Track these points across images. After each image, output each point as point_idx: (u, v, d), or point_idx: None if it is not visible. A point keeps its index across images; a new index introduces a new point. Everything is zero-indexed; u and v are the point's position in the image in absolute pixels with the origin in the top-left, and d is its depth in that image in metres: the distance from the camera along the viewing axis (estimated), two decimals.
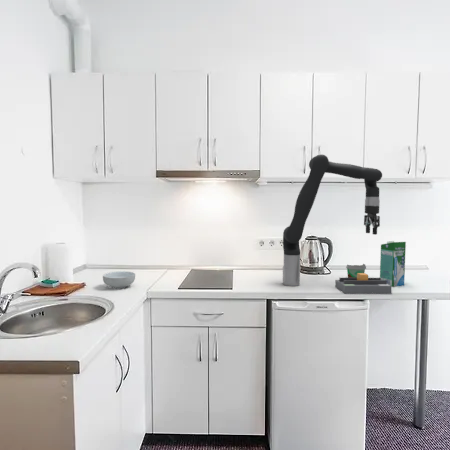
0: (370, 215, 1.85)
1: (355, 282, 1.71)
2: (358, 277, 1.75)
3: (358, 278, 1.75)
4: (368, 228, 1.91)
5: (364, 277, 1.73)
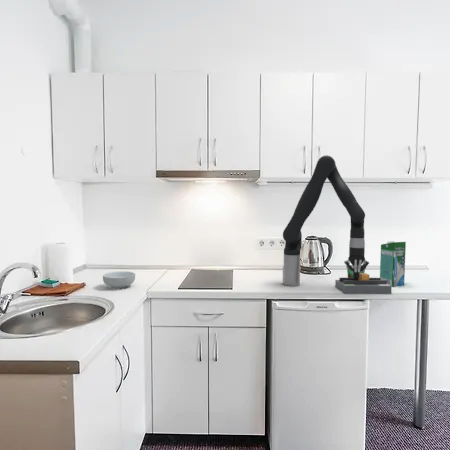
0: (359, 257, 1.73)
1: (355, 282, 1.71)
2: (359, 277, 1.75)
3: (359, 278, 1.75)
4: None
5: (365, 277, 1.73)
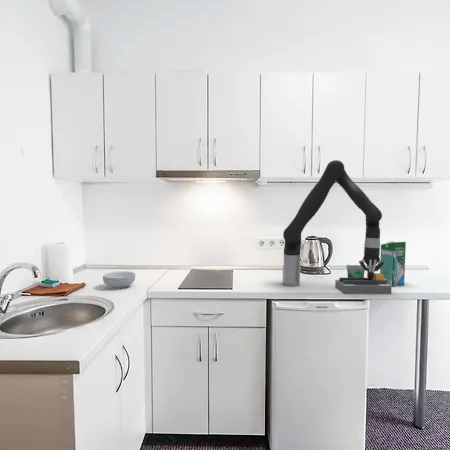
0: (373, 257, 1.73)
1: (355, 282, 1.71)
2: None
3: (373, 278, 1.75)
4: None
5: (379, 277, 1.73)
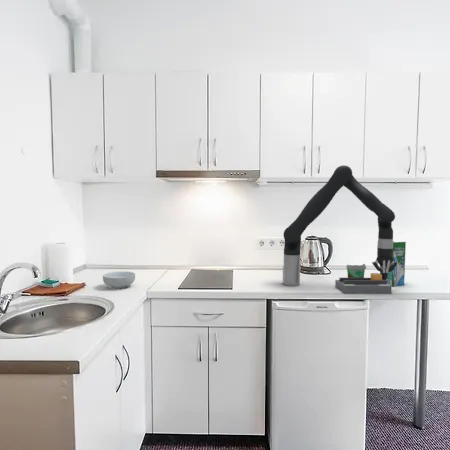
0: (387, 258, 1.73)
1: (355, 282, 1.71)
2: (372, 277, 1.75)
3: (372, 278, 1.75)
4: None
5: (377, 277, 1.73)
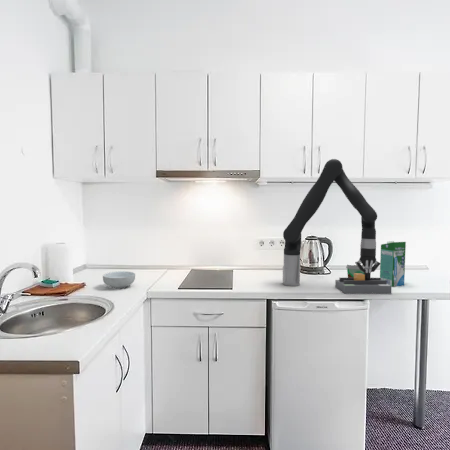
0: (370, 258, 1.73)
1: (355, 282, 1.71)
2: (355, 277, 1.75)
3: (355, 278, 1.75)
4: None
5: (360, 277, 1.73)
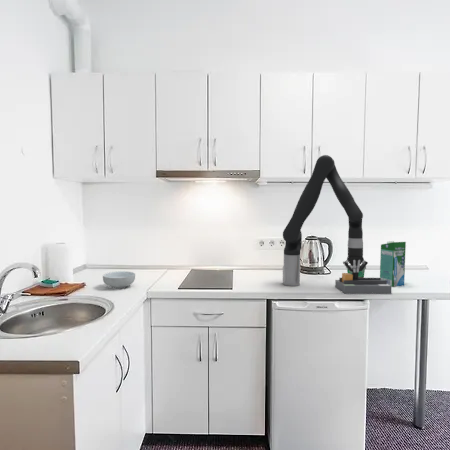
0: (357, 257, 1.73)
1: (355, 282, 1.71)
2: (343, 277, 1.75)
3: (343, 278, 1.75)
4: None
5: (348, 277, 1.73)
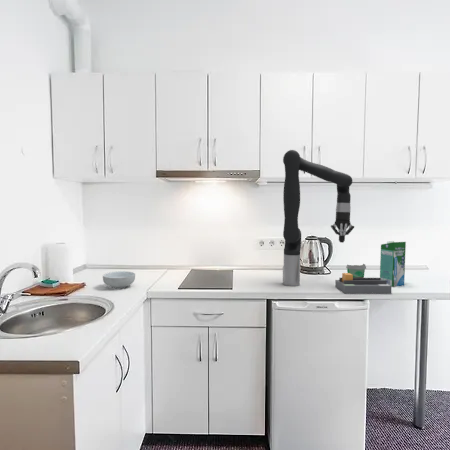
0: (344, 221, 1.82)
1: (355, 282, 1.71)
2: (343, 277, 1.75)
3: (343, 278, 1.75)
4: None
5: (348, 277, 1.73)
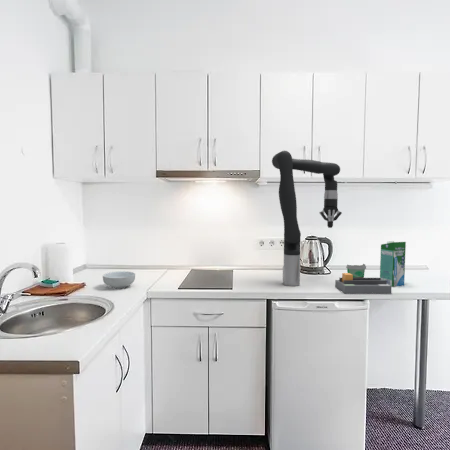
0: (332, 208, 1.93)
1: (355, 282, 1.71)
2: (343, 277, 1.75)
3: (343, 278, 1.75)
4: None
5: (348, 277, 1.73)
